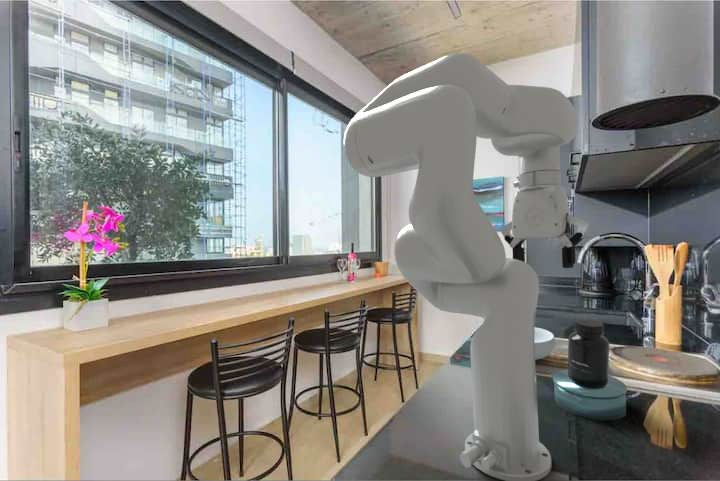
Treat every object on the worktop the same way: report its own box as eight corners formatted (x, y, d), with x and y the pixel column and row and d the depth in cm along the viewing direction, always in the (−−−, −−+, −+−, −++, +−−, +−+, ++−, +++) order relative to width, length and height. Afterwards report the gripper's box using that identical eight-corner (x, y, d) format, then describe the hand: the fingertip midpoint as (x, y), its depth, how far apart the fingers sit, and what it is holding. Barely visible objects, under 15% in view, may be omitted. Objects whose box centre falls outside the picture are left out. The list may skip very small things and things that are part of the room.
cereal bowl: (477, 352, 104) (476, 329, 103) (523, 345, 108) (522, 322, 108) (518, 373, 87) (517, 345, 87) (570, 363, 92) (569, 336, 92)
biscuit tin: (627, 429, 61) (625, 401, 61) (548, 410, 69) (547, 385, 69) (628, 401, 71) (627, 376, 71) (559, 387, 79) (558, 365, 79)
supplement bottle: (570, 386, 68) (570, 326, 67) (565, 370, 74) (565, 315, 73) (613, 391, 65) (613, 329, 64) (603, 374, 72) (604, 318, 70)
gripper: (490, 188, 76) (493, 266, 75) (578, 173, 62) (582, 269, 61) (509, 190, 80) (512, 264, 80) (595, 177, 66) (598, 267, 66)
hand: (542, 266), depth 71 cm, fingers open, 9 cm apart
